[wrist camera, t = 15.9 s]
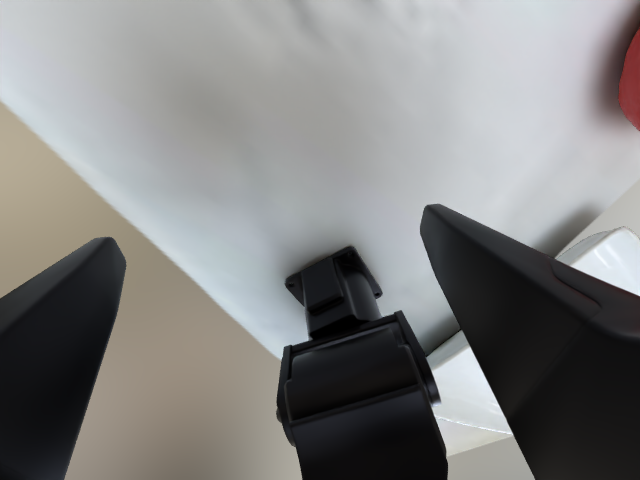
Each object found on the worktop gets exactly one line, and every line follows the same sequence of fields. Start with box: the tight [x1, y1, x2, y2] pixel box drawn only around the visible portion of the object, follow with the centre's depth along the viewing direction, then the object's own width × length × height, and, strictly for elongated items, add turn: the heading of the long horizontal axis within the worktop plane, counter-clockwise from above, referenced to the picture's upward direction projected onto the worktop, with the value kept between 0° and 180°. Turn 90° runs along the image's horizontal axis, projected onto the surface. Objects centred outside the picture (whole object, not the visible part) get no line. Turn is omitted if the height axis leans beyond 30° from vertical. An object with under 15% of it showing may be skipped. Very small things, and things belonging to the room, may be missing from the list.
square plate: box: [426, 226, 640, 434], centre depth 36 cm, size 27×27×4 cm
